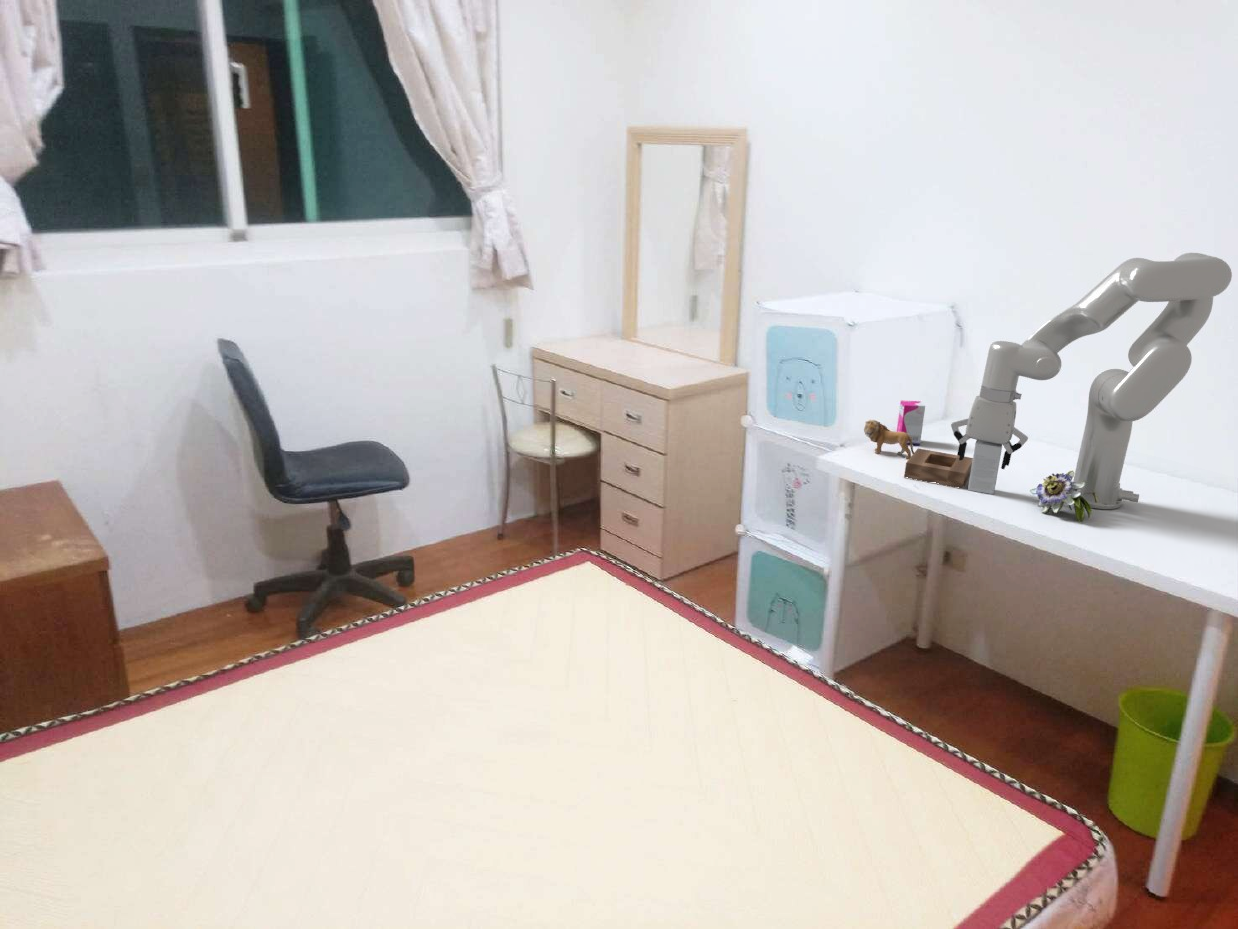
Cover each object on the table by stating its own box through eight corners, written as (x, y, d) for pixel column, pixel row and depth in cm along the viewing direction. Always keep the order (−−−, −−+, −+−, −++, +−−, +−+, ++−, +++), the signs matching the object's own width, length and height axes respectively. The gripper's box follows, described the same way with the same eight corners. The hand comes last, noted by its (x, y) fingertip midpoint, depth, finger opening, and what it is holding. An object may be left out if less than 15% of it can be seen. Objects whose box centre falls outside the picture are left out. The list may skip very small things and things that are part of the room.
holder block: (971, 473, 230) (974, 458, 229) (962, 488, 219) (965, 473, 217) (915, 462, 237) (917, 448, 235) (904, 477, 225) (906, 462, 224)
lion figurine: (860, 453, 243) (864, 421, 240) (861, 447, 248) (866, 416, 245) (917, 460, 238) (922, 428, 235) (917, 455, 243) (922, 423, 240)
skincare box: (994, 489, 219) (1003, 442, 215) (993, 494, 216) (1002, 447, 212) (968, 485, 222) (976, 438, 218) (966, 490, 218) (975, 443, 214)
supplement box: (915, 439, 257) (921, 400, 253) (920, 445, 251) (926, 406, 248) (895, 438, 257) (900, 399, 254) (899, 444, 252) (904, 404, 248)
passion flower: (1041, 535, 207) (1018, 487, 209) (1072, 519, 212) (1049, 472, 213) (1080, 524, 197) (1055, 474, 199) (1111, 508, 201) (1087, 459, 203)
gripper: (1038, 398, 210) (1022, 467, 216) (961, 385, 218) (947, 451, 223) (1035, 404, 204) (1018, 475, 210) (956, 390, 212) (942, 459, 217)
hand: (982, 463), depth 217 cm, fingers open, 9 cm apart
